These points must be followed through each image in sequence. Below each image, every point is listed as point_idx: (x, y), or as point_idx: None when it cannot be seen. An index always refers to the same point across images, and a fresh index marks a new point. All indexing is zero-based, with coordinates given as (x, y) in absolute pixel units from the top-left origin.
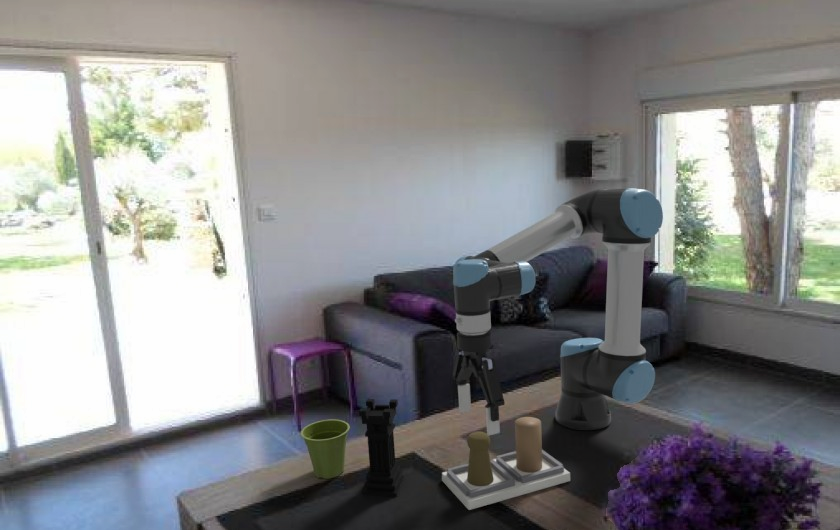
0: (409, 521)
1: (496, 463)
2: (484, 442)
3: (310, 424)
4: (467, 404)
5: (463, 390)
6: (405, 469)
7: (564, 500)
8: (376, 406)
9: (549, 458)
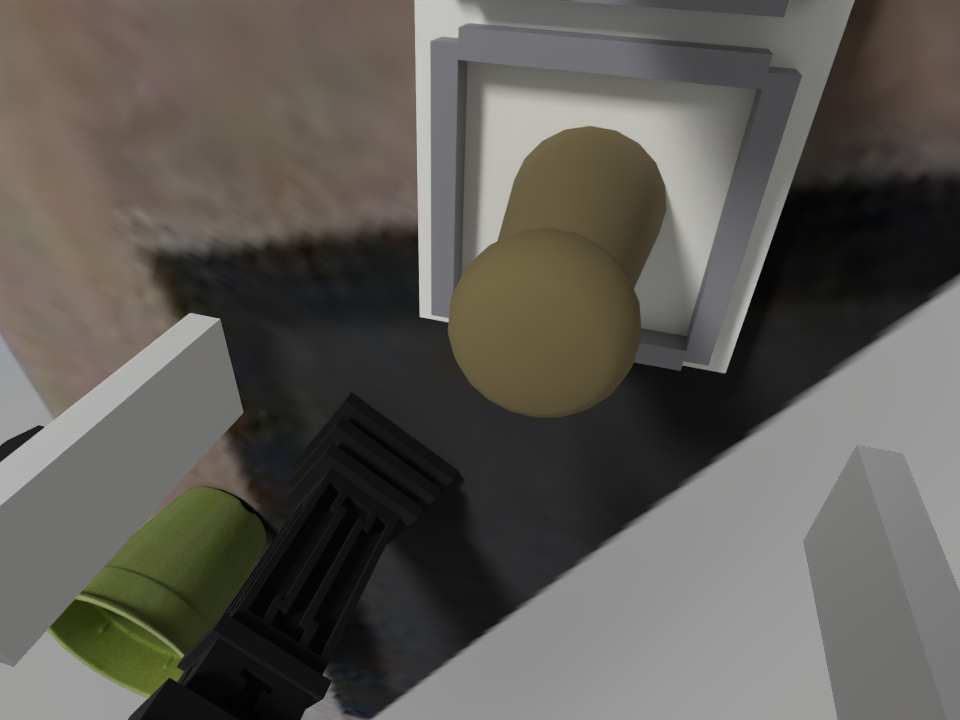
0: (626, 521)
1: (521, 38)
2: (632, 350)
3: (69, 651)
4: (179, 398)
5: (49, 569)
6: (284, 355)
7: None
8: None
9: None
